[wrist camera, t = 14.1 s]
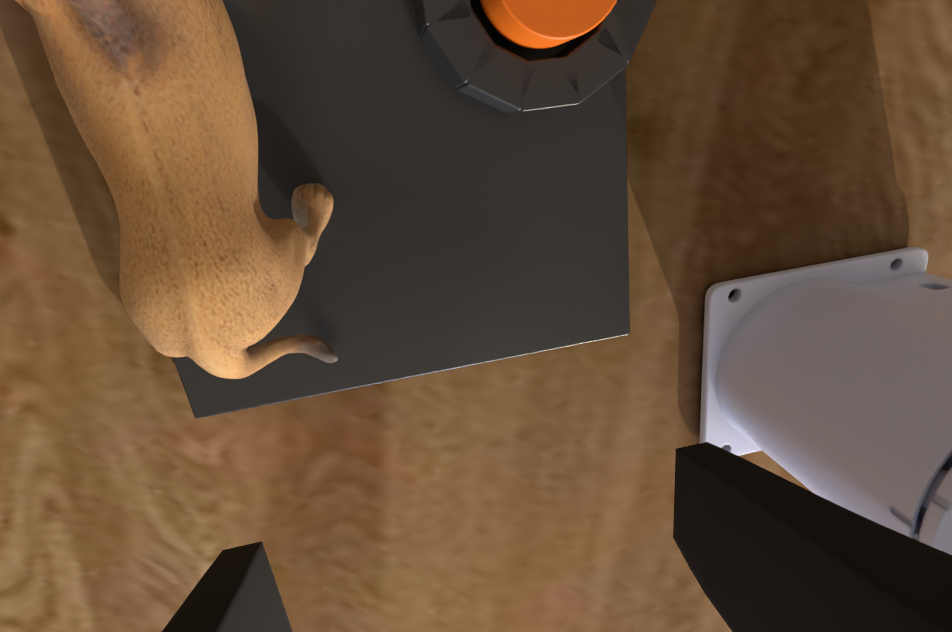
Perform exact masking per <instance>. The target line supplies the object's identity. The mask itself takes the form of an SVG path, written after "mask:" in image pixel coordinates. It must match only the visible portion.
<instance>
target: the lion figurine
mask: <svg viewBox="0 0 952 632" xmlns="http://www.w3.org/2000/svg"><path fill="white" fill-rule="evenodd" d="M15 1H16V2H17V3H18V4H19V5H21V6H22V7H23V8H24V9H25V10H26V11H28V12H29V13H30V14H31V15H32V17H33V20H34V22H35V25H36V27H37V30H38V33H39V36H40V38H41V41H42V44H43V47H44V50H45V53H46V55H47V58H48V61H49V64H50V67H51V70H52V73H53V75H54V78H55V81H56V84H57V86H58V88H59V90H60V93H61V95H62V97H63V99H64V101H65V103H66V106H67V108H68V110H69V112H70V114H71V116H72V119H73V121H74V123H75V125H76V127H77V129H78V131H79V133H80V135H81V137H82V139H83V141H84V143H85V144H86V146H87V148H88V149H89V151H90V153H91V154H92V156H93V158H94V159H95V161H96V163H97V165H98V166H99V168H100V170H101V172H102V174H103V176H104V178H105V180H106V182H107V184H108V186H109V189H110V191H111V194H112V196H113V199H114V202H115V205H116V209H117V212H118V217H119V223H120V267H119V290H120V294H121V298H122V302H123V305H124V307H125V309H126V311H127V313H128V315H129V316H130V318H131V319H132V321H133V322H134V324H135V325H136V326H137V328H138V329H139V330H140V332H141V333H142V334H143V335H144V337H145V338H146V339H147V341H148V342H149V343H150V344H151V345H152V346H153V347H154V348H155V349H156V350H157V351H158V352H160V353H162V354H164V355H166V356H170V357H184V356H188V357H189V358H191V359H192V360H193V361H194V362H195V363H197V364H198V365H199V366H200V367H202V368H203V369H204V370H206V371H207V372H209V373H210V374H212V375H214V376H217V377H221V378H227V379H241V378H245V377H247V376H249V375H251V374H253V373H255V372H256V371H258V370H260V369H261V368H263V367H264V366H266V365H267V364H269V363H271V362H272V361H274V360H276V359H277V358H279V357H281V356H283V355H285V354H288V353H306V354H309V355H311V356H312V357H314V358H318V359H320V360H322V361H324V362H327V363H333V362H336V361H337V360H338V357H337V355H336V354H335V353H334V351H333V349H332V347H331V345H330V343H328V342H327V341H326V340H324V339H321V338H319V337H317V336H311V335H306V334H298V335H291V336H284V337H280V338H276V339H273V340H269V341H265V342H263V343H260V344H257V345H253V344H255V343H256V342H258V341H259V340H261V339H263V338H264V337H265V336H266V335H267V334H268V333H269V332H270V331H271V330H272V329H273V328H274V327H275V326H276V325H277V323H278V322H279V321H280V320H281V318H282V317H283V316H284V314H285V313H286V312H287V310H288V309H289V308H290V306H291V305H292V303H293V301H294V299H295V297H296V296H297V294H298V291H299V288H300V284H301V281H302V278H303V272H304V267H305V266H306V265H307V264H308V263H309V262H310V260H311V259H312V257H313V255H314V253H315V251H316V247H317V243H318V240H319V237H320V235H321V233H322V231H323V230H324V228H325V227H326V225H327V223H328V221H329V219H330V216H331V213H332V210H333V203H334V201H333V196H332V193H331V192H330V191H329V190H328V189H327V188H326V187H325V186H323V185H322V184H319V183H309V184H303V185H301V186H298V187H297V188H295V189H294V192H293V195H292V200H291V204H292V212H293V218H294V220H293V219H289V218H282V219H272V218H270V217H267V216H266V215H265V214H264V212H263V211H262V208H261V205H260V201H259V193H258V133H257V122H256V117H255V112H254V107H253V103H252V99H251V95H250V91H249V87H248V84H247V80H246V77H245V72H244V67H243V62H242V58H241V53H240V49H239V45H238V42H237V38H236V35H235V32H234V29H233V26H232V23H231V20H230V18H229V15H228V13H227V10H226V8H225V5H224V3H223V1H222V0H15ZM250 345H253V346H250Z"/></svg>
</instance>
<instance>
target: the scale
mask: <svg viewBox="0 0 952 632" xmlns="http://www.w3.org/2000/svg"><path fill="white" fill-rule="evenodd" d="M222 1H223V3H224V5H225V8H226V10H227V13H228V15H229V18H230V20H231V23H232V26H233V29H234V32H235V35H236V38H237V42H238V45H239V49H240V53H241V58H242V62H243V67H244V72H245V77H246V80H247V84H248V87H249V91H250V95H251V99H252V103H253V107H254V112H255V117H256V122H257V133H258V193H259V201H260V205H261V208H262V211H263V212H264V214H265V215H266V216H267V217H270V218H272V219H282V218H289V219H293V220H294V218H293V212H292V204H291V200H292V195H293V192H294V189H295V188H297V187H298V186H301V185H303V184H309V183H319V184H322V185H323V186H325V187H326V188H327V189H328V190H329V191H330V192H331V193H332V196H333V201H334V203H333V210H332V213H331V216H330V219H329V221H328V223H327V225H326V227H325V228H324V230H323V231H322V233H321V235H320V237H319V240H318V243H317V247H316V251H315V253H314V255H313V257H312V259H311V260H310V262H309V263H308V264H307V265H306V266H305V267H304V272H303V278H302V281H301V284H300V288H299V291H298V294H297V296H296V297H295V299H294V301H293V303H292V305H291V306H290V308H289V309H288V310H287V312H286V313H285V314H284V316H283V317H282V318H281V320H280V321H279V322H278V323H277V325H276V326H275V327H274V328H273V329H272V330H271V331H270V332H269V333H268V334H267V335H266V336H265V337H264V338H263V339H261V340H259V341H258V342H256V343H255V344H253V345H257V344H260V343H263V342H265V341H269V340H273V339H276V338H280V337H284V336H291V335H298V334H306V335H311V336H317V337H319V338H321V339H324V340H326V341H327V342H328V343H330V345H331V347H332V349H333V351H334V353H335V354H336V355H337V357H338V360H337V361H336V362H333V363H327V362H324V361H322V360H320V359H318V358H314V357H312V356H311V355H309V354H306V353H288V354H285V355H283V356H281V357H279V358H277V359H276V360H274V361H272V362H271V363H269V364H267V365H266V366H264V367H263V368H261V369H260V370H258V371H256V372H255V373H253V374H251V375H249V376H247V377H245V378H241V379H227V378H221V377H217V376H214V375H212V374H210V373H209V372H207V371H206V370H204V369H203V368H202V367H200V366H199V365H198V364H197V363H195V362H194V361H193V360H192V359H191V358H189V357H188V356H184V357H173V359H174V362H175V364H176V367H177V370H178V373H179V375H180V378H181V381H182V384H183V386H184V389H185V392H186V394H187V397H188V400H189V403H190V405H191V408H192V411H193V414H194V416H195V418H202V417H207V416H213V415H218V414H223V413H228V412H233V411H238V410H244V409H249V408H254V407H259V406H264V405H269V404H274V403H280V402H285V401H290V400H295V399H300V398H305V397H310V396H316V395H321V394H326V393H331V392H336V391H341V390H347V389H352V388H357V387H362V386H367V385H372V384H377V383H383V382H388V381H393V380H398V379H403V378H408V377H413V376H419V375H424V374H429V373H434V372H439V371H444V370H450V369H455V368H460V367H465V366H470V365H475V364H480V363H486V362H491V361H496V360H501V359H506V358H511V357H516V356H522V355H527V354H532V353H537V352H542V351H547V350H553V349H558V348H563V347H568V346H573V345H578V344H583V343H589V342H594V341H599V340H604V339H609V338H614V337H619V336H625V335H629V334H630V322H629V262H628V201H627V141H626V81H625V67H627V65H628V63H629V62H630V60H631V57H632V55H633V53H634V51H635V49H636V46H637V44H638V42H639V40H640V37H641V35H642V33H643V31H644V29H645V26H646V24H647V22H648V20H649V18H650V15H651V13H652V11H653V9H654V6H655V4H656V2H655V1H656V0H617V2H616V4H615V5H614V7H613V8H612V10H611V11H610V13H609V14H608V15H607V16H606V17H605V19H604V20H603V21H602V22H601V23H599V24H598V25H597V26H596V27H595V28H593V29H592V30H590V31H589V32H587V33H585V34H583V35H581V36H579V37H576V38H574V39H572V40H570V41H567V42H565V43H563V44H560V45H558V46H555V47H552V48H547V49H528V48H524V47H521V46H518V45H516V44H514V43H512V42H510V41H509V40H507V39H506V38H505V37H503V36H502V35H501V34H500V33H499V32H498V31H497V30H496V29H495V28H494V27H493V25H492V24H491V22H490V21H489V19H488V18H487V16H486V14H485V12H484V10H483V7H482V5H481V2H480V0H222ZM253 345H250V346H253Z"/></svg>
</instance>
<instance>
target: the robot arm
mask: <svg viewBox="0 0 952 632" xmlns="http://www.w3.org/2000/svg"><path fill="white" fill-rule="evenodd" d="M892 262H893V263H892ZM927 262H928V253H927V251H926V250H925V249H923V248H919V247H908V248H903V249H897V250H892V251H887V252H881V253H876V254H870V255H865V256H859V257H854V258H849V259H843V260H838V261H832V262H827V263H822V264H816V265H811V266H805V267H800V268H795V269H789V270H784V271H778V272H773V273H768V274H762V275H757V276H751V277H746V278H740V279H735V280H730V281H724V282H719V283H716V284H713V285H712V286H711V287H709V289H708V290H707V292H706V295H705V312H704V337H703V363H702V389H701V414H700V440H699V444H696V445H691V446H687V447H682V448H678V449H676V462H675V497H674V531H673V538H674V540H675V542H676V543H677V545H678V547H679V549H680V551H681V553H682V554H683V556H684V558H685V560H686V562H687V563H688V565H689V567H690V569H691V571H692V572H693V574H694V576H695V577H696V579H697V581H698V582H699V584H700V586H701V588H702V589H703V591H704V593H705V594H706V595H707V597H708V598H709V600H710V601H711V603H712V604H713V605H714V607H715V608H716V610H717V611H718V612H719V614H720V615H721V616H722V618H723V619H724V621H725V622H726V623H727V625H728V626H729V628H730V629H731V630H732V632H952V280H950V279H946V278H942V277H938V276H935V275H931V274H927V273H925V272H926V267H927ZM891 263H892V265H891ZM732 290H734V291H735V292H734V295H733V296H732V297H731V298H728V296H729V293H730V292H731V291H732ZM724 445H725V446H724ZM722 446H724V447H723V448H721V447H722ZM761 450H763V451H764V452H765V453H766V454H767V455H769V456H770V457H771V458H772V459H773V460H775V461H776V462H777V463H778V464H779V465H781V466H782V467H783V468H784V469H785V470H787V471H788V472H789V473H790V474H791V475H793V476H794V477H795V478H796V479H797V480H799V481H800V482H801V483H802V484H803V485H805V486H806V487H807V488H808V489H810V490H811V491H812V492H813V493H812V492H810V491H808V490H806V489H804V488H802V487H800V486H798V485H796V484H794V483H792V482H790V481H788V480H786V479H784V478H782V477H780V476H778V475H776V474H774V473H772V472H769V471H767V470H765V469H763V468H761V467H759V466H757V465H755V464H753V463H751V462H749V461H747V460H745V459H743V458H741V457H739V455H743V454H748V453H752V452H756V451H761ZM162 632H292V629H291V626H290V623H289V620H288V617H287V614H286V611H285V608H284V605H283V603H282V600H281V597H280V594H279V591H278V588H277V585H276V582H275V579H274V576H273V573H272V570H271V567H270V564H269V561H268V558H267V555H266V552H265V549H264V546H263V543H262V542H257V543H253V544H249V545H244V546H240V547H235V548H231V549H226V550H223V551H222V552H221V553H220V554H219V556H218V557H217V558H216V560H215V561H214V562H213V564H212V565H211V566H210V568H209V569H208V570H207V572H206V573H205V574H204V576H203V577H202V578H201V580H200V581H199V582H198V584H197V585H196V586H195V588H194V589H193V590H192V592H191V593H190V594H189V596H188V597H187V599H186V600H185V601H184V603H183V604H182V605H181V607H180V608H179V609H178V611H177V612H176V613H175V615H174V616H173V617H172V619H171V620H170V622H169V623H168V624H167V626H166V627H165V628H164V630H163V631H162Z"/></svg>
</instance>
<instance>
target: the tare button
mask: <svg viewBox="0 0 952 632" xmlns="http://www.w3.org/2000/svg"><path fill="white" fill-rule="evenodd" d="M480 2H481V5H482V7H483V10H484V12H485V14H486V16H487V18H488V19H489V21H490V22H491V24H492V25H493V27H494V28H495V29H496V30H497V31H498V32H499V33H500V34H501V35H502V36H503V37H505V38H506V39H507V40H509V41H510V42H512V43H514V44H516V45H518V46H521V47H524V48H528V49H547V48H552V47H555V46H558V45H560V44H563V43H565V42H567V41H570V40H572V39H574V38H576V37H579V36H581V35H583V34H585V33H587V32H589V31H590V30H592V29H593V28H595V27H596V26H597V25H598V24H599V23H601V22H602V21H603V20H604V19H605V17H606V16H607V15H608V14H609V13H610V11H611V10H612V8H613V7H614V5H615V4H616V2H617V0H480Z"/></svg>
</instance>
